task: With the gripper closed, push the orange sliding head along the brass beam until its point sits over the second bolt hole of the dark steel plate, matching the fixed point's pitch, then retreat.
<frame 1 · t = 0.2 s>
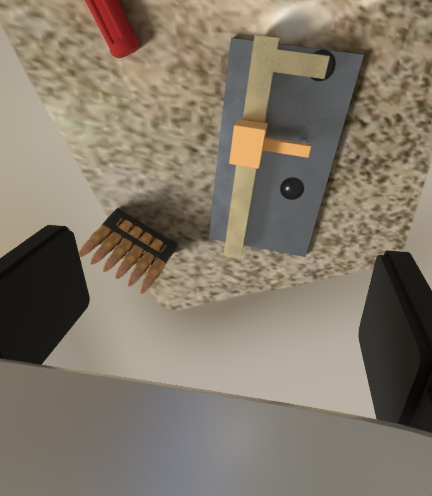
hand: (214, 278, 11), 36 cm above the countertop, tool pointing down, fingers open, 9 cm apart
sliding head: (272, 143, 39), point 5 cm above the countertop, slide at 0.0 cm
drilled steel plate with beam: (273, 159, 44), on the countertop
ammunition clip: (146, 230, 53), on the countertop
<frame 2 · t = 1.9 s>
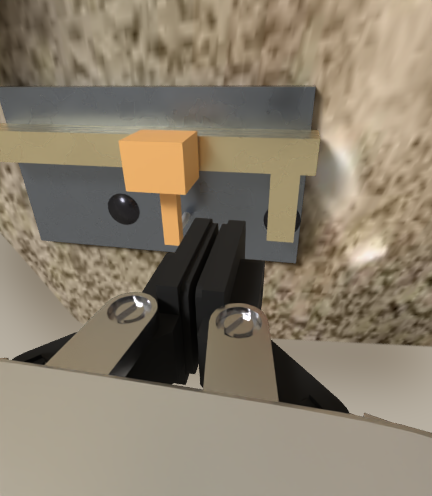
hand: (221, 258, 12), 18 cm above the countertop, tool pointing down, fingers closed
sliding head: (172, 189, 25), point 5 cm above the countertop, slide at 0.0 cm
drilled steel plate with beam: (155, 175, 30), on the countertop
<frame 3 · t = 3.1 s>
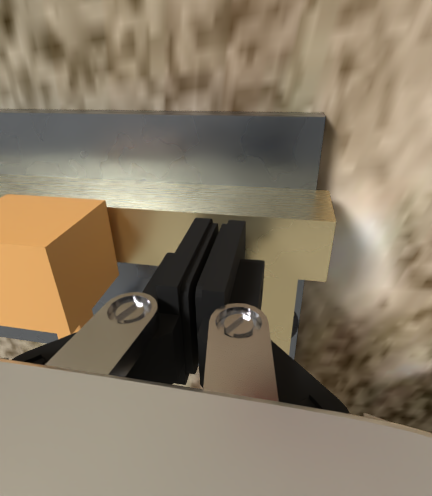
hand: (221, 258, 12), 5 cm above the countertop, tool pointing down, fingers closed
sliding head: (74, 292, 15), point 5 cm above the countertop, slide at 0.0 cm
drilled steel plate with beam: (72, 244, 19), on the countertop
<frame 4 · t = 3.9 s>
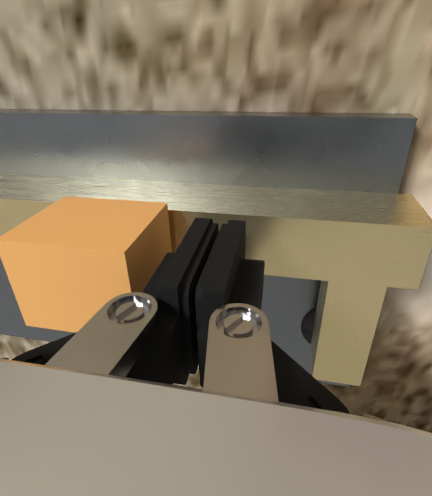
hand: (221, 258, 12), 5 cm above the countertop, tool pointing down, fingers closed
sliding head: (127, 295, 14), point 5 cm above the countertop, slide at 0.8 cm, touching gripper
drilled steel plate with beam: (127, 247, 19), on the countertop
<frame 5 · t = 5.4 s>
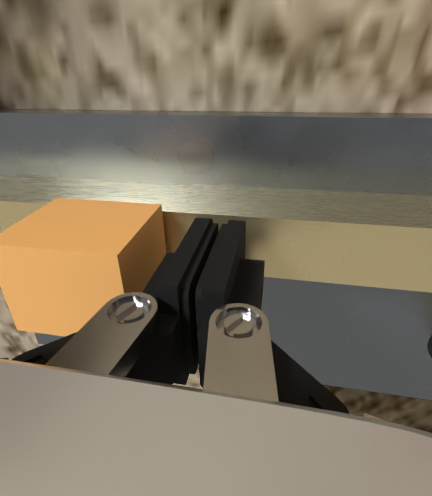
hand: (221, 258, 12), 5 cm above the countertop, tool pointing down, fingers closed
sliding head: (121, 298, 14), point 5 cm above the countertop, slide at 6.9 cm
drilled steel plate with beam: (234, 259, 18), on the countertop
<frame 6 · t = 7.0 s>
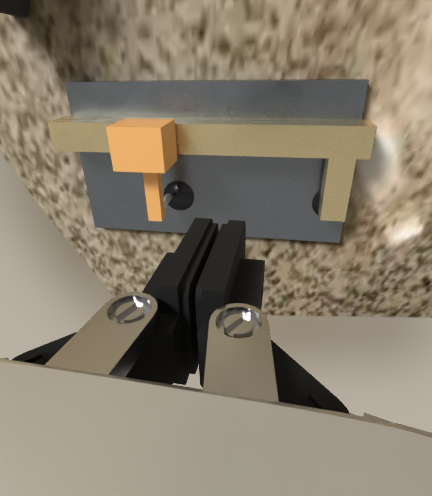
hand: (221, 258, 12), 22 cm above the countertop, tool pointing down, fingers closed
sliding head: (154, 171, 29), point 5 cm above the countertop, slide at 6.9 cm
drilled steel plate with beam: (210, 163, 32), on the countertop
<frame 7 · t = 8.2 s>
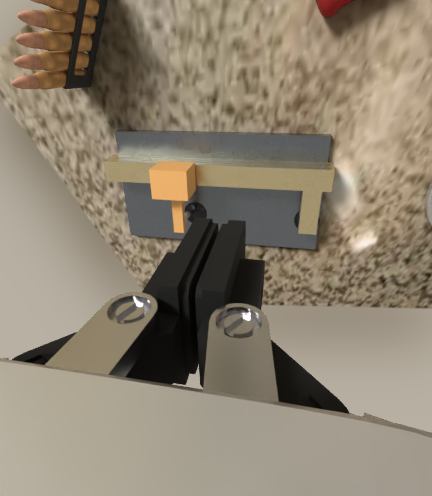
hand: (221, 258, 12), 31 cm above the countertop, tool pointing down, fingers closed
sliding head: (178, 197, 40), point 5 cm above the countertop, slide at 6.9 cm
drilled steel plate with beam: (219, 189, 44), on the countertop
ammunition clip: (92, 34, 38), on the countertop
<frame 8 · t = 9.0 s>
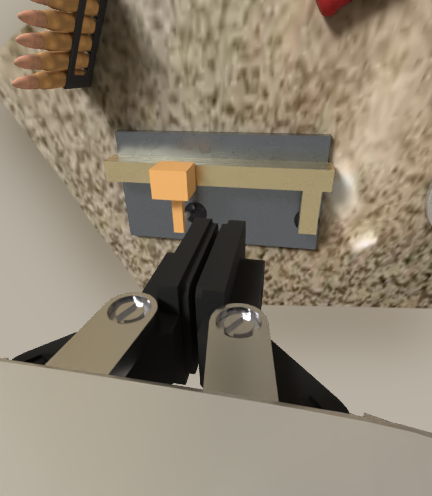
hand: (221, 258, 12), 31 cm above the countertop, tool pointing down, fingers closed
sliding head: (178, 197, 40), point 5 cm above the countertop, slide at 6.9 cm
drilled steel plate with beam: (219, 189, 44), on the countertop
ammunition clip: (92, 34, 38), on the countertop
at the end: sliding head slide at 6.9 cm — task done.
